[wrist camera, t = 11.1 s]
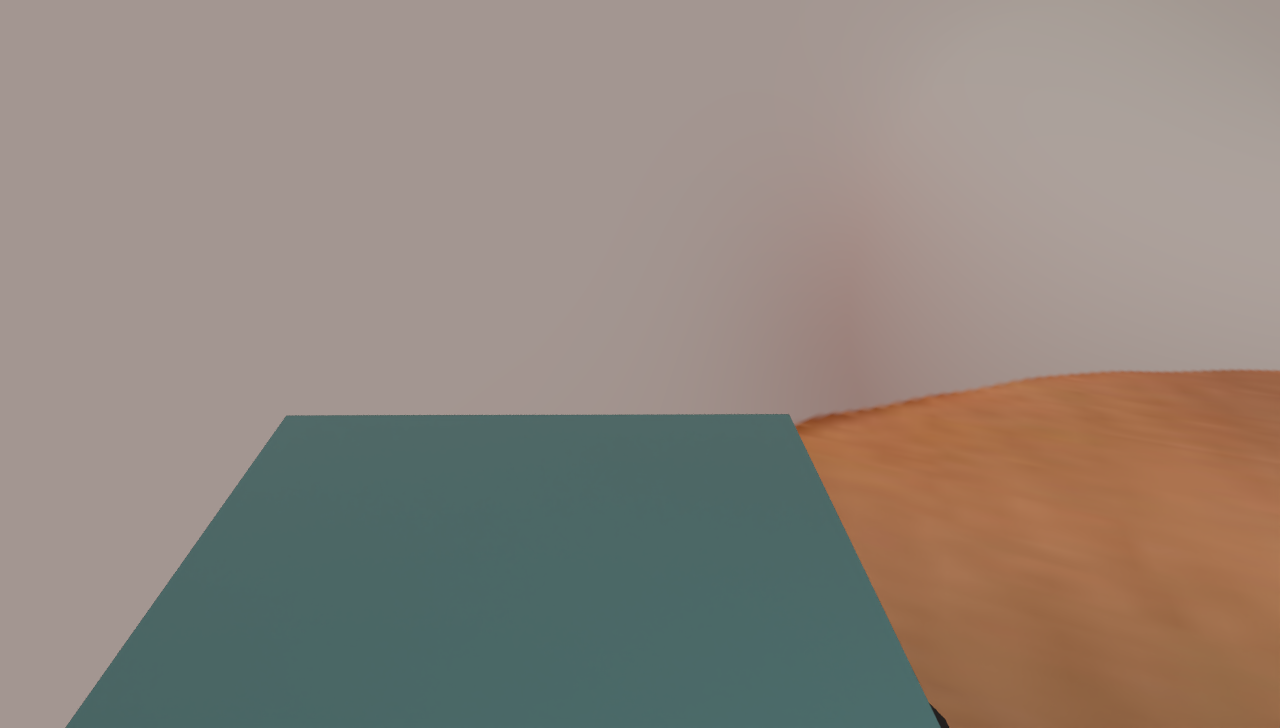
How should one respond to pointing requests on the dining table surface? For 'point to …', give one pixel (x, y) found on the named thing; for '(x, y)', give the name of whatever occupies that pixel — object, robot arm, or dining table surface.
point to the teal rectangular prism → (519, 585)
